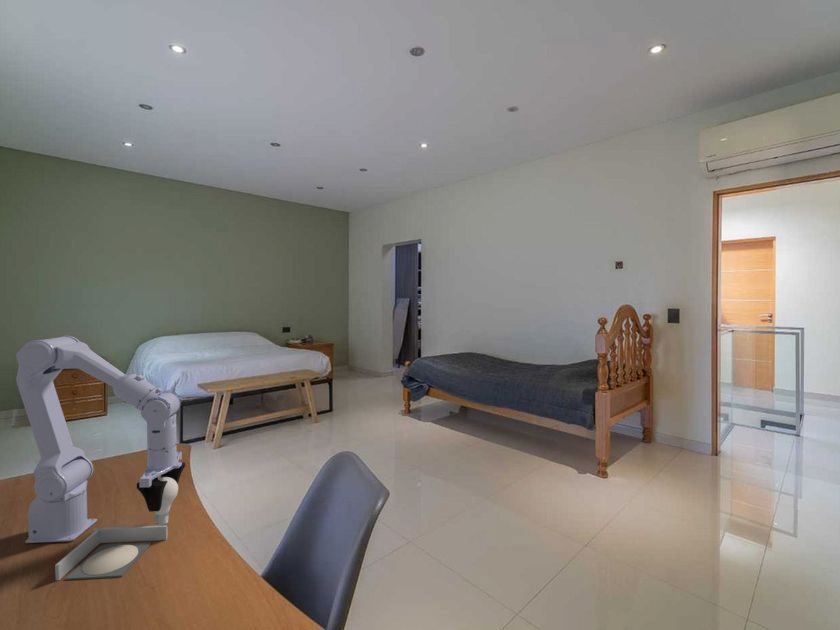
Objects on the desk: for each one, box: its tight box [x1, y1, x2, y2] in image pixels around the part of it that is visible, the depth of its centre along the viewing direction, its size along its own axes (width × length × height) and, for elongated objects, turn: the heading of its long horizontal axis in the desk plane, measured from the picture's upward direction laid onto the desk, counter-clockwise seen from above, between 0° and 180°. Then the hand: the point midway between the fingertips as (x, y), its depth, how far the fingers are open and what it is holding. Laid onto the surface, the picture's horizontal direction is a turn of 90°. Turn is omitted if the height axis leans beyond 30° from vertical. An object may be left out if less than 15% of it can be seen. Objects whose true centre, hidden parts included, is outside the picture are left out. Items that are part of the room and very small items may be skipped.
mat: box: [64, 542, 152, 581], centre depth 80 cm, size 10×10×1 cm
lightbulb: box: [153, 476, 179, 526], centre depth 92 cm, size 6×6×11 cm
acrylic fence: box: [54, 524, 169, 581], centre depth 81 cm, size 15×12×3 cm
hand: (162, 502), depth 93 cm, fingers closed on lightbulb, 6 cm apart
